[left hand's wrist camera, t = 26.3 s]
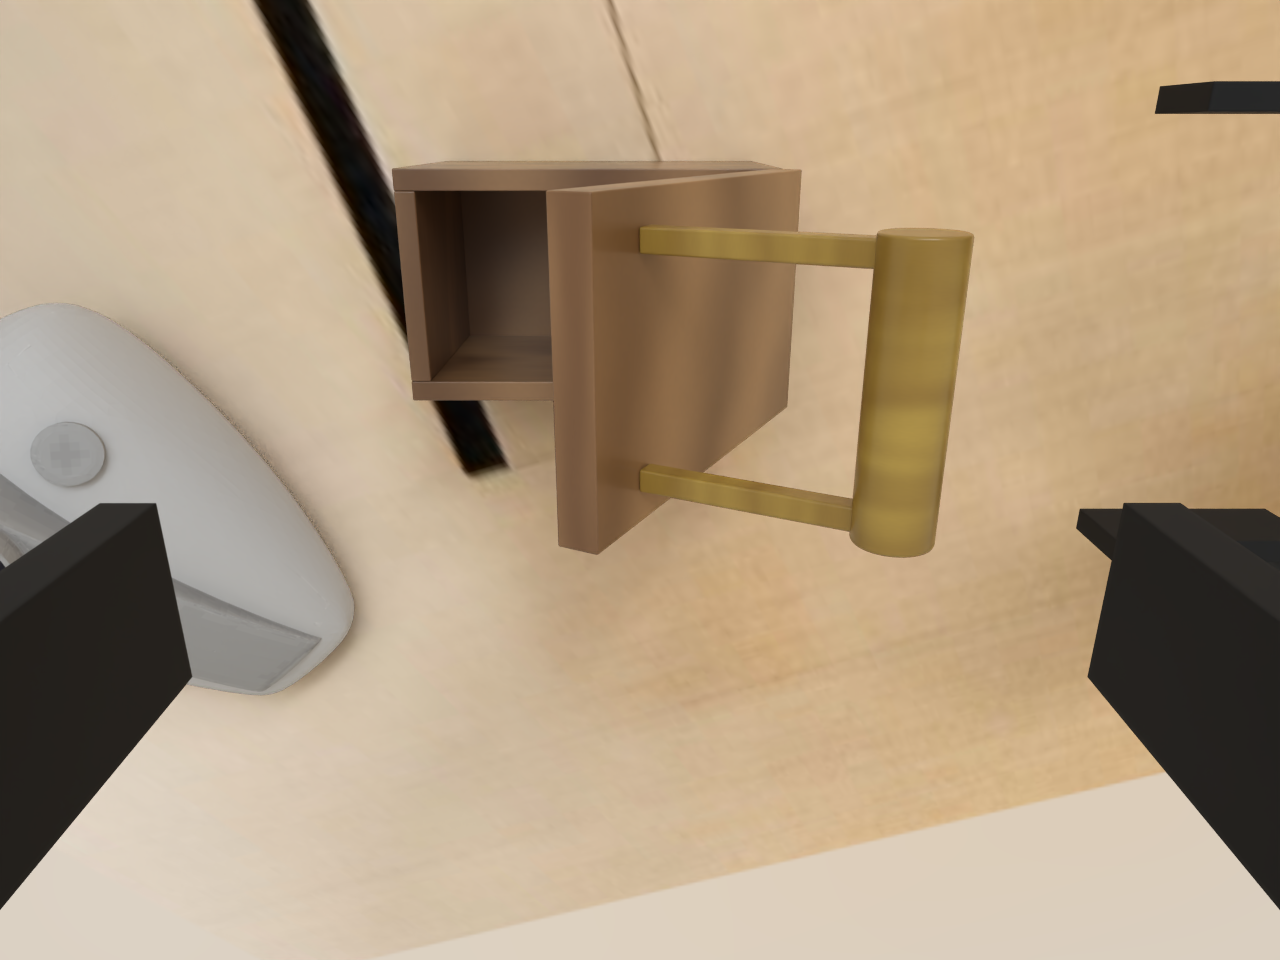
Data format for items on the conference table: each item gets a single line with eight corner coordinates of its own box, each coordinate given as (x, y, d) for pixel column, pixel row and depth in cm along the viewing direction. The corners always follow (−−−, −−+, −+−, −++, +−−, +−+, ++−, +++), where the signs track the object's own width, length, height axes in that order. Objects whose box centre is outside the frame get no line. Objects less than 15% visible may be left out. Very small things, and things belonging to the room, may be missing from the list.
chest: (458, 347, 48) (413, 400, 38) (445, 161, 45) (391, 168, 35) (745, 347, 48) (770, 400, 38) (753, 161, 45) (783, 168, 35)
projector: (7, 668, 55) (-202, 845, 41) (-103, 289, 47) (-411, 354, 33) (371, 668, 55) (281, 845, 41) (323, 289, 47) (193, 354, 33)
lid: (557, 546, 25) (907, 626, 21) (545, 189, 21) (958, 203, 17) (758, 403, 38) (996, 435, 34) (770, 168, 35) (1035, 173, 31)
